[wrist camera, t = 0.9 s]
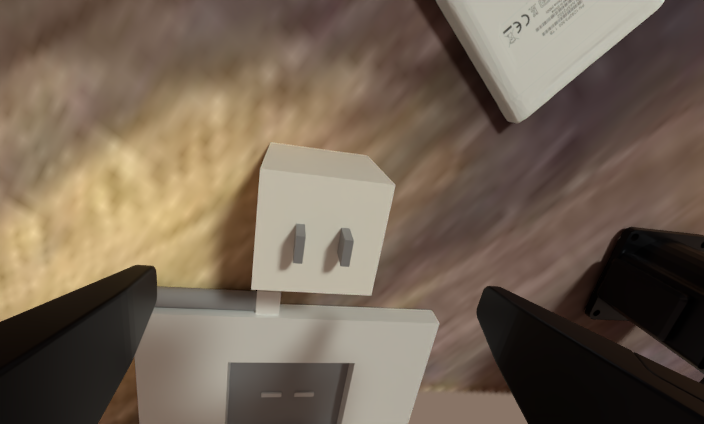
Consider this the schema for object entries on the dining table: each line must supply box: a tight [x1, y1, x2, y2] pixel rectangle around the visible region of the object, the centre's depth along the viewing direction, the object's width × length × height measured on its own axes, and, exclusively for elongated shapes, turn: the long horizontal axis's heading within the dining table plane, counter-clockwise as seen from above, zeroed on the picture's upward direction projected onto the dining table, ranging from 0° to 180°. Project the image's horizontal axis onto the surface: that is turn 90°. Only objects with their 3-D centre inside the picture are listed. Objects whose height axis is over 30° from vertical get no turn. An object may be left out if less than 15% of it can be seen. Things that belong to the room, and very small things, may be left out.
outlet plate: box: [135, 304, 439, 424], centre depth 20 cm, size 16×13×1 cm
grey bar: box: [155, 286, 281, 315], centre depth 17 cm, size 9×2×1 cm, turn 80°
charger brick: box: [251, 142, 395, 296], centre depth 14 cm, size 5×5×6 cm
